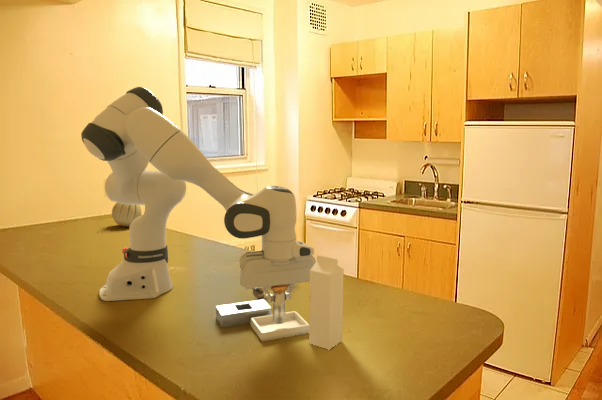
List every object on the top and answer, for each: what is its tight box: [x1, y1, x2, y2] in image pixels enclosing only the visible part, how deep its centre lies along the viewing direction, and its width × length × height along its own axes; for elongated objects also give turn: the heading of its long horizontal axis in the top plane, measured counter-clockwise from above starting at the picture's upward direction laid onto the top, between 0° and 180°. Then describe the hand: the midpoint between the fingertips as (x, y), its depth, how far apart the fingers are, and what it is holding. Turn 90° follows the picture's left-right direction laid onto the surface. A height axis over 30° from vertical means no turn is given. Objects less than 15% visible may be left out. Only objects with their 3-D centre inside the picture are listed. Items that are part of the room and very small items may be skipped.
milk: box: [308, 254, 344, 351], centre depth 113 cm, size 6×6×22 cm
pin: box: [270, 284, 288, 324], centre depth 121 cm, size 4×4×10 cm
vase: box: [252, 287, 267, 301], centre depth 142 cm, size 5×5×6 cm
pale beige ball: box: [111, 202, 143, 228], centre depth 245 cm, size 15×15×15 cm
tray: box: [250, 310, 309, 342], centre depth 122 cm, size 13×10×2 cm
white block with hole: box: [215, 299, 273, 329], centre depth 129 cm, size 14×7×4 cm, turn 113°
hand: (278, 300), depth 121 cm, fingers closed on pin, 3 cm apart
